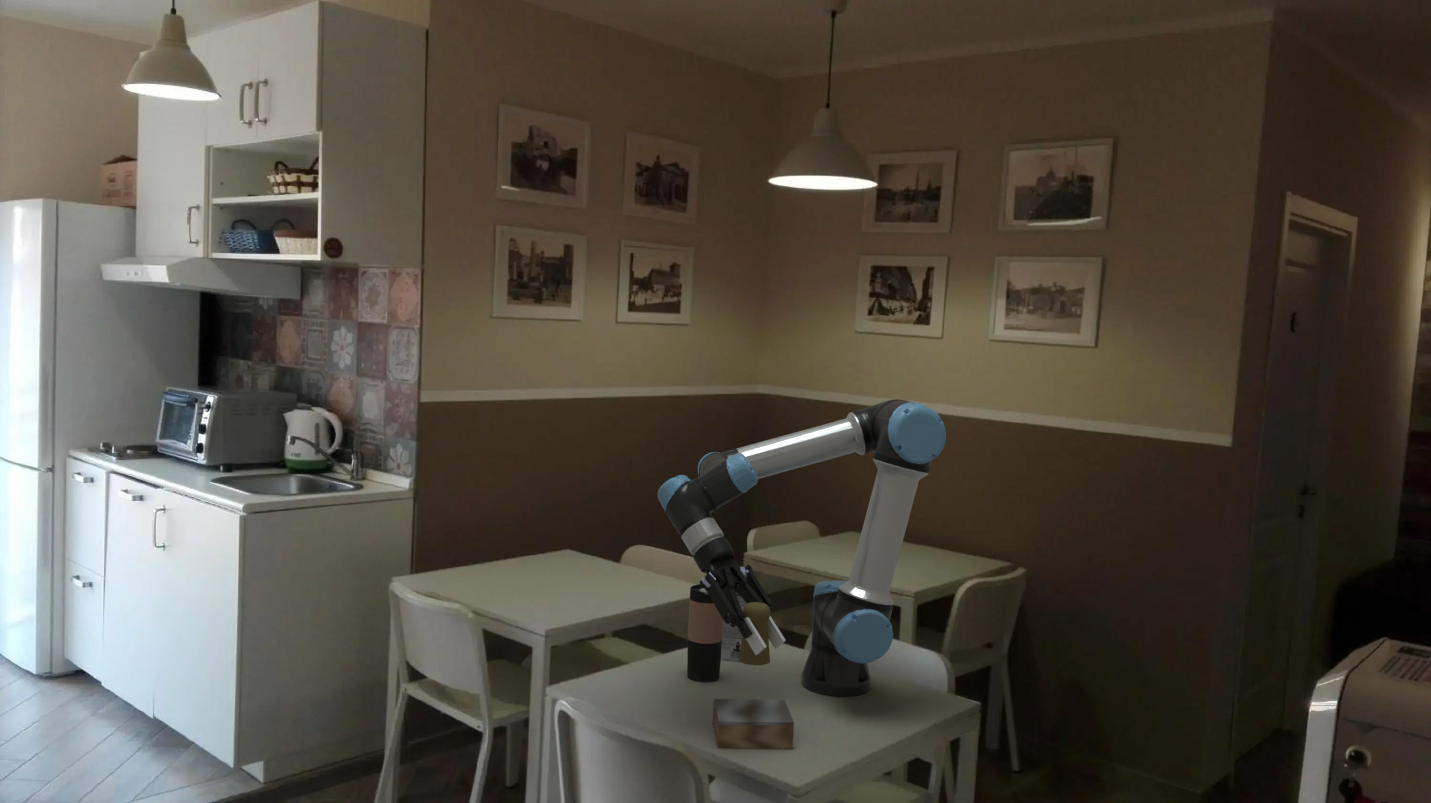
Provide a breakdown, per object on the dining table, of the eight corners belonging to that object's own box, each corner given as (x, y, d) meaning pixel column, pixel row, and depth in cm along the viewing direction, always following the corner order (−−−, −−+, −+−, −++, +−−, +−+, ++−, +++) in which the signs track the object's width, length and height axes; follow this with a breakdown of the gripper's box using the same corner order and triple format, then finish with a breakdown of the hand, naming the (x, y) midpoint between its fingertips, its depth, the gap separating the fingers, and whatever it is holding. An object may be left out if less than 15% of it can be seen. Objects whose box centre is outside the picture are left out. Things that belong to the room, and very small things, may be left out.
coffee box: (727, 648, 262) (730, 583, 261) (753, 651, 261) (756, 585, 259) (719, 659, 253) (722, 592, 252) (746, 662, 252) (749, 594, 250)
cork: (738, 654, 209) (741, 598, 208) (769, 656, 209) (772, 600, 208) (738, 664, 203) (741, 606, 202) (770, 666, 203) (773, 608, 202)
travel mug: (699, 668, 245) (703, 582, 244) (727, 676, 241) (731, 588, 239) (679, 677, 239) (682, 587, 238) (707, 684, 235) (710, 594, 233)
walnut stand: (783, 724, 213) (784, 699, 213) (792, 748, 201) (793, 722, 201) (712, 723, 212) (713, 698, 212) (717, 747, 200) (718, 721, 200)
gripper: (727, 551, 221) (787, 648, 212) (666, 563, 208) (728, 668, 198) (748, 530, 218) (811, 627, 208) (688, 541, 204) (752, 646, 194)
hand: (770, 647), depth 203 cm, fingers closed on cork, 5 cm apart
